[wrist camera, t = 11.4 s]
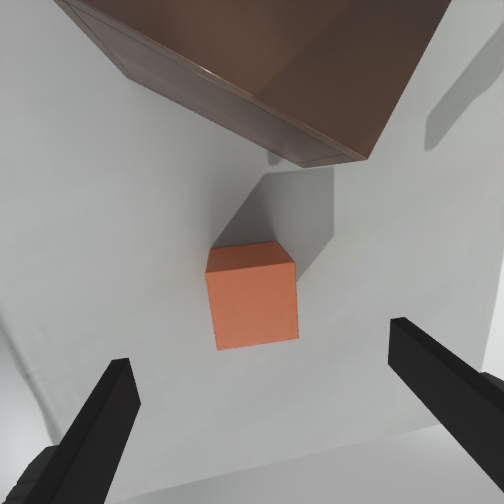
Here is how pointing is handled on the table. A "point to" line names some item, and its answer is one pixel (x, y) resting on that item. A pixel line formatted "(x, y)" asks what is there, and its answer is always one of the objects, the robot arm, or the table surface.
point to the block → (252, 295)
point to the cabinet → (272, 64)
